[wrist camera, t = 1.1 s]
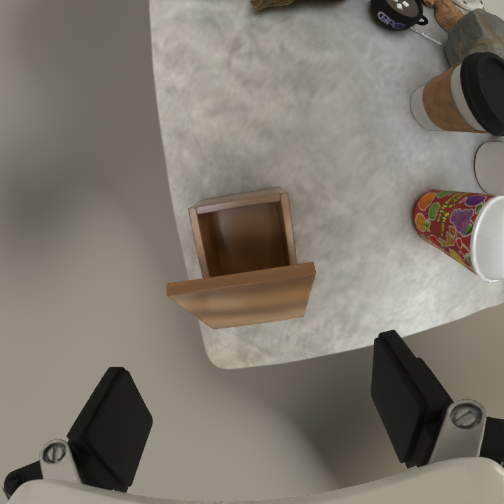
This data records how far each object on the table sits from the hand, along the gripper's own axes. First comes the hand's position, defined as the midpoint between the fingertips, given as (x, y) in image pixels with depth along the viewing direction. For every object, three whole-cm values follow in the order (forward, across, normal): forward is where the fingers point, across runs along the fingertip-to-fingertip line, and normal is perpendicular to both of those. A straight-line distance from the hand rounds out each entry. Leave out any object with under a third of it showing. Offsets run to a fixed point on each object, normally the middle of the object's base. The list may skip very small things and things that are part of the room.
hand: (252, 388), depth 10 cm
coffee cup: (+25, -25, -13) cm, 38 cm away
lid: (+12, +1, +2) cm, 13 cm away
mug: (+25, -25, -25) cm, 43 cm away
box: (+25, +1, +1) cm, 25 cm away
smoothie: (+25, -23, +1) cm, 34 cm away
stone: (+18, -32, -26) cm, 45 cm away
